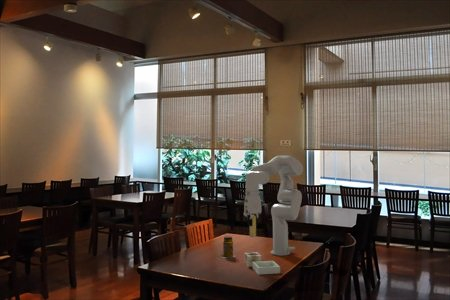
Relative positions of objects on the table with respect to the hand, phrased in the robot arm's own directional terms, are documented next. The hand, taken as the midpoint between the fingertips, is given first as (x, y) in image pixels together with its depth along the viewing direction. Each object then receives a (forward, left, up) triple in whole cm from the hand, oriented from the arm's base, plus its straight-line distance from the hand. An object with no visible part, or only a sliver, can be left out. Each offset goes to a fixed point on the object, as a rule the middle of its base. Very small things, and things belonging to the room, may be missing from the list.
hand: (252, 225), depth 228 cm
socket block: (0, 0, -23) cm, 23 cm away
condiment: (+11, -22, -23) cm, 34 cm away
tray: (-4, +13, -23) cm, 27 cm away
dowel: (0, 0, -7) cm, 7 cm away
